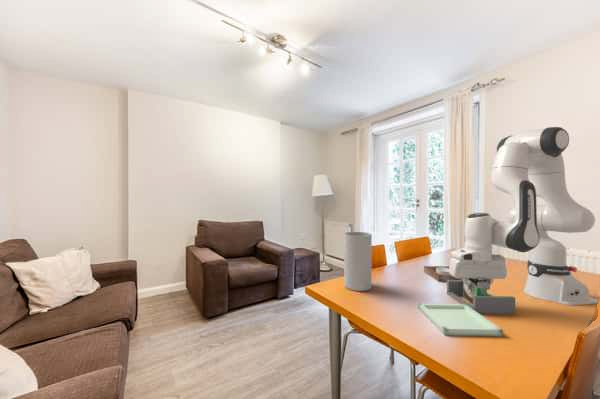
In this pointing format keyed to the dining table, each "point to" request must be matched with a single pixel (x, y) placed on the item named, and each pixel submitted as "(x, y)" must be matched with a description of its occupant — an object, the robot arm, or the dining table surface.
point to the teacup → (442, 270)
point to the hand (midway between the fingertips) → (477, 288)
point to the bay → (482, 300)
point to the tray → (459, 320)
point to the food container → (475, 288)
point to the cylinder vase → (358, 261)
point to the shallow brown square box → (439, 277)
